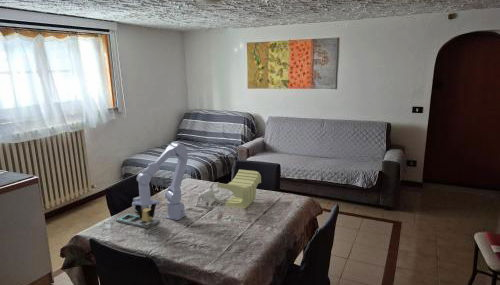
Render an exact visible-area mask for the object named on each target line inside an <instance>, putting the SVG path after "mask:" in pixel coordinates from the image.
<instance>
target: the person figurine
mask: <svg viewBox="0 0 500 285" xmlns="http://www.w3.org/2000/svg"><path fill="white" fill-rule="evenodd" d="M217 183H220V182H219V181H217V182H214V181H213V182H211V183H210V185H209V186H208V188H207V189H206V190H205V191H202V192H200V193H199V194H198V196H197V201H196V203H195V204H194V208H197V207H198V205H199V203H200V200H202V201H203V202H208V205H207V206H206V207H207V208H208V209H209V208H210V209H212V208H214V207H213V205H212V204H214V202H215V201H219V200H220V198H221V197H222V196H223V193H221V192H220V188H214V189H213V187H214V185H218V184H217ZM219 192H220V194H219V196H218V197H216V196H215V194H217V193H219Z"/></svg>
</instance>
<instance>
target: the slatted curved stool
mask: <svg viewBox="0 0 500 285" xmlns="http://www.w3.org/2000/svg"><path fill="white" fill-rule="evenodd" d="M261 183H262V176H261V174H260V172H259V171H256V170H249V169H248V170H247V169H238V171H237V173H236V174H235V176H234V178H233V179H232V180H231V181H229V182H228V183H221V182H219V183H217V184H216V185H217V189H222V190H223V189H224V190H228V191H230V192H231V193H233V194H234V196H232V197H231V198H230V199H229V200H227V201H226V202H225V207H231V208H238V209H241V210H242V209H247V208H248V207H249V206H250V205H251V204H252V203H254V201H255V200H256V199H257V198H256V197H257V196H256V194H257V187H258V185H259V184H261Z"/></svg>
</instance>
